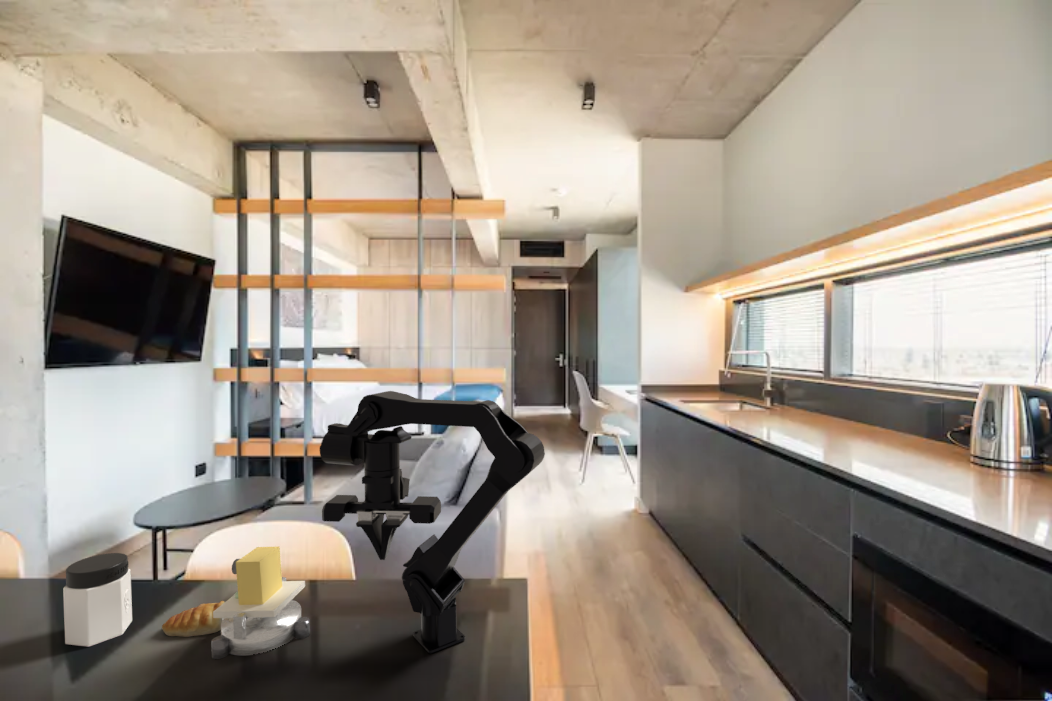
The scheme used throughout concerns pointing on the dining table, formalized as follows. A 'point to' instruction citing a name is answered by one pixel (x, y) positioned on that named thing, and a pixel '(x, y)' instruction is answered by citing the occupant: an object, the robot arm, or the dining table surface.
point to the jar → (97, 599)
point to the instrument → (259, 586)
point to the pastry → (194, 621)
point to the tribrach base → (260, 632)
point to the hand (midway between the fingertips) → (383, 558)
